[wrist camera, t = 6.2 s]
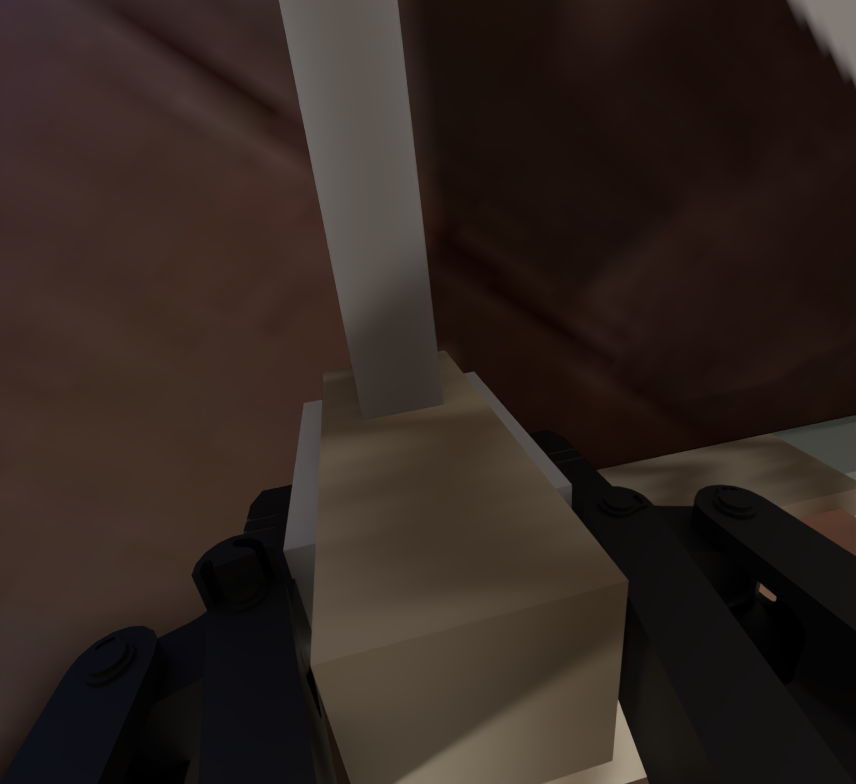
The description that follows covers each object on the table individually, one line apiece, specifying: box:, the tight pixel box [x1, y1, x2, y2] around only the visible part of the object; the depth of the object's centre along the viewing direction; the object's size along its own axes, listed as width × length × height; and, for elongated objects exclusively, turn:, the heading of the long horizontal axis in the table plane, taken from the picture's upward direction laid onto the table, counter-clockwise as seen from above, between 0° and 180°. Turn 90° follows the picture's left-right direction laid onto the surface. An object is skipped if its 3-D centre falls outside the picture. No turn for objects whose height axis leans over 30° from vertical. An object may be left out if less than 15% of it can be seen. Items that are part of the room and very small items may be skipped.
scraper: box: [279, 0, 629, 784], centre depth 11 cm, size 4×20×10 cm, turn 6°
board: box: [543, 433, 856, 784], centre depth 26 cm, size 16×20×5 cm
